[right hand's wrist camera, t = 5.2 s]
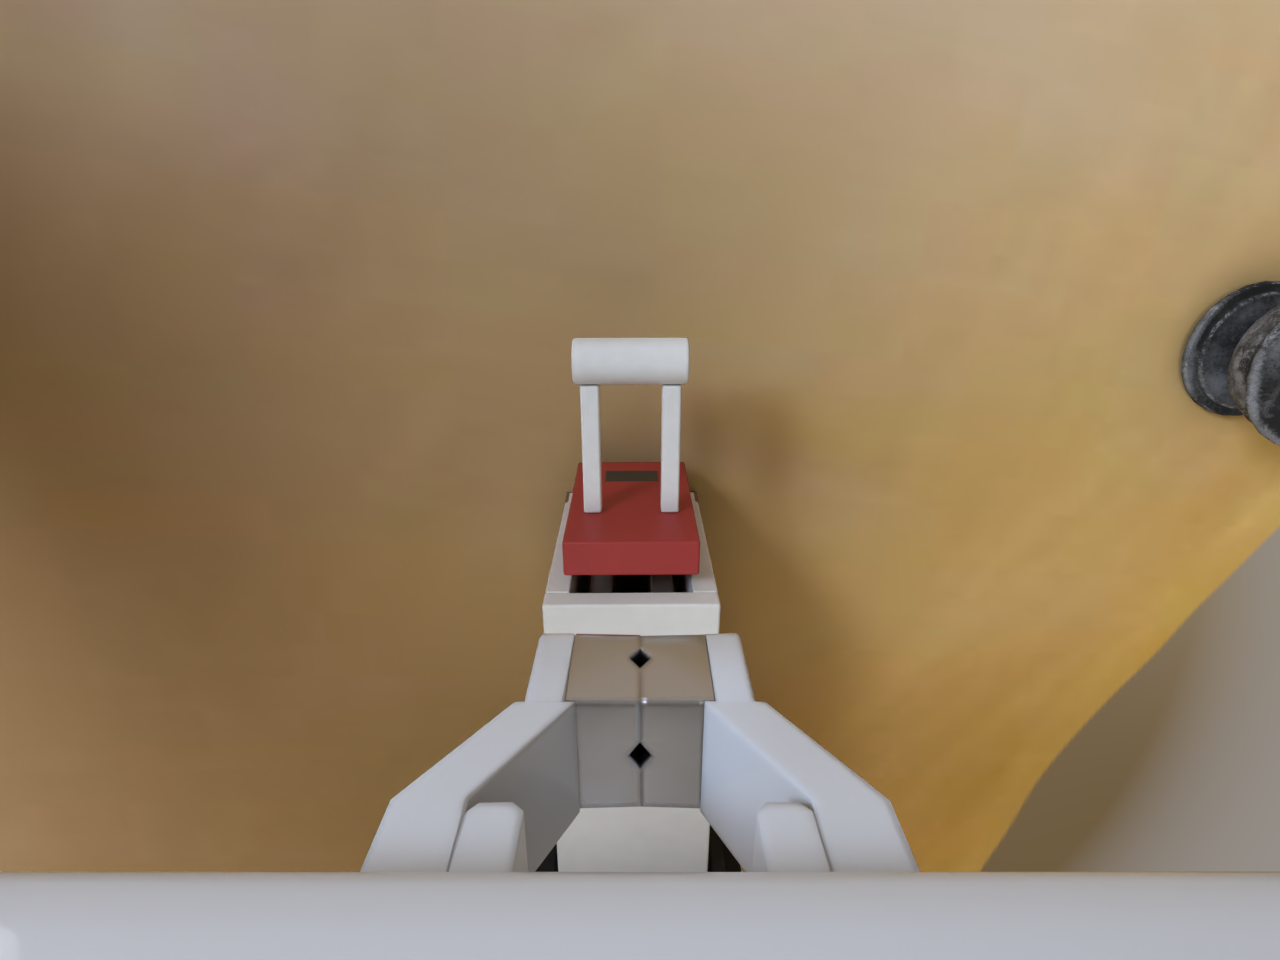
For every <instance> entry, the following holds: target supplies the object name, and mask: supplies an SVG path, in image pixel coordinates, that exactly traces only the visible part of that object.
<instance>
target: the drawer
mask: <svg viewBox="0 0 1280 960" xmlns="http://www.w3.org/2000/svg"><path fill="white" fill-rule="evenodd" d="M689 363H690V354H689V341H688V338H574V339H573V341H572V349H571V365H572V378H573V382H574V384H576V385H580V384H581V386H580V406H581V436H582V463H579V465H578V470H577V475H576V479H575V484H574V489H573V494H572V499H571V503H570V508H569V513H568V518H567V523H566V527H565V532H564V537H563V542H562V550H563V571H564V575H591V579H590V588H589V593H674V584H673V575H697V574H699V566H700V539H699V534H698V529H697V524H696V519H695V514H694V509H693V504H692V499H691V494H690V489H689V484H688V479H687V474H686V470H685V465H684V463H683V462H680V430H681V384H687V383H688V379H689ZM600 384H662V415H661V462H623V463H601V425H600Z"/></svg>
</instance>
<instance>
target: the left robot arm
mask: <svg viewBox="0 0 1280 960" xmlns="http://www.w3.org/2000/svg"><path fill="white" fill-rule="evenodd" d="M535 872H558V858H557V843H556V844H555V846H554V847H553V848H552V850H551V851H550V852H549V854H548V855H547V856H546V858H545V859H544V860H543V862H542V863H541V864H540V866H539V867H538V868H537V870H536V871H535ZM708 872H741V868H740V864H739V863H738V861H737V860H736V859H735V857H734V856H733V855H732V853H731V852H730V851H729V849H728V848H727V847H726V845H725V844H724V843H723V841H722V840H721V839H720V837H719V836H718V835H717V833H716V832H715V830H714V829H713V828H712V826H711V825H710V832H709V853H708Z"/></svg>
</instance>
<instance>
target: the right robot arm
mask: <svg viewBox="0 0 1280 960" xmlns="http://www.w3.org/2000/svg"><path fill="white" fill-rule="evenodd" d="M609 807H670V808H700V812H701V813H702V814H703V816H704V817H705V818H706V820H707V821H708V822H709V824H710V825H711V826H712V828H713V829H714V830H715V832H716V833H717V835H718V836H719V837H720V839H721V840H722V841H723V843H724V844H725V845H726V847H727V848H728V849H729V851H730V852H731V853H732V855H733V856H734V857H735V859H736V860H737V861H738V863H739V864H740V865H741V867H742V868H743V869H744V871H745V872H535V871H536V870H537V868H538V867H539V866H540V864H541V863H542V862H543V860H544V859H545V858H546V856H547V855H548V854H549V852H550V851H551V850H552V848H553V847H554V846H555V844H556V843H557V842H558V840H559V839H560V838H561V836H562V835H563V834H564V832H565V831H566V830H567V828H568V827H569V826H570V824H571V823H572V822H573V820H574V819H575V818H576V816H577V815H578V814H579V812H580V808H609ZM0 960H1280V872H920V870H919V868H918V866H917V863H916V861H915V858H914V856H913V854H912V851H911V849H910V847H909V844H908V842H907V839H906V837H905V835H904V832H903V830H902V828H901V825H900V823H899V821H898V818H897V816H896V813H895V811H894V809H893V806H892V804H891V802H890V800H889V799H887V798H886V797H885V796H884V795H882V794H881V793H880V792H879V791H877V790H876V789H875V788H874V787H872V786H871V785H870V784H869V783H867V782H866V781H865V780H863V779H862V778H861V777H860V776H858V775H857V774H856V773H855V772H853V771H852V770H851V769H850V768H848V767H847V766H846V765H845V764H843V763H842V762H841V761H839V760H838V759H837V758H836V757H834V756H833V755H832V754H831V753H829V752H828V751H827V750H826V749H824V748H823V747H822V746H821V745H819V744H818V743H817V742H815V741H814V740H813V739H812V738H810V737H809V736H808V735H807V734H805V733H804V732H803V731H802V730H800V729H799V728H798V727H797V726H795V725H794V724H793V723H791V722H790V721H789V720H788V719H786V718H785V717H784V716H783V715H781V714H780V713H779V712H778V711H776V710H775V709H774V708H773V707H771V706H770V705H769V704H767V703H766V702H755V698H754V693H753V689H752V685H751V681H750V677H749V672H748V668H747V664H746V660H745V656H744V652H743V647H742V643H741V639H740V636H739V635H738V634H737V633H722V634H705V635H659V636H640V635H620V634H576V635H575V634H573V633H552V634H542V636H541V637H540V638H539V642H538V647H537V651H536V655H535V659H534V664H533V668H532V672H531V676H530V681H529V685H528V689H527V693H526V698H525V702H514V703H513V704H511V705H510V706H509V707H507V708H506V709H505V710H504V711H502V712H501V713H500V714H499V715H497V716H496V717H495V718H494V719H492V720H491V721H490V722H488V723H487V724H486V725H485V726H483V727H482V728H481V729H480V730H478V731H477V732H476V733H474V734H473V735H472V736H471V737H469V738H468V739H467V740H466V741H464V742H463V743H462V744H461V745H459V746H458V747H457V748H455V749H454V750H453V751H452V752H450V753H449V754H448V755H447V756H445V757H444V758H443V759H441V760H440V761H439V762H438V763H436V764H435V765H434V766H433V767H431V768H430V769H429V770H428V771H426V772H425V773H424V774H422V775H421V776H420V777H419V778H417V779H416V780H415V781H414V782H412V783H411V784H410V785H408V786H407V787H406V788H405V789H403V790H402V791H401V792H400V793H398V794H397V795H396V796H395V797H393V798H392V799H391V800H390V802H389V805H388V807H387V809H386V812H385V814H384V816H383V819H382V821H381V823H380V826H379V828H378V830H377V833H376V835H375V837H374V840H373V842H372V844H371V847H370V849H369V851H368V854H367V856H366V858H365V861H364V863H363V865H362V868H361V870H360V872H0Z"/></svg>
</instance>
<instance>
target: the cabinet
mask: <svg viewBox="0 0 1280 960" xmlns="http://www.w3.org/2000/svg"><path fill="white" fill-rule="evenodd" d="M572 494H573V493H570V492H567V495H566V500H565V507H564V511H563V516H562V520H561V525H560V529H559V534H558V538H557V542H556V547H555V551H554V556H553V560H552V565H551V569H550V573H549V578H548V582H547V587H546V591H545V596H544V601H543V605H542V611H543V628H544V634H552V633H573V634H575V635H576V634H620V635H640V636H659V635H705V634H719V630H720V609H721V605H720V600H719V596H718V590H717V586H716V581H715V577H714V572H713V568H712V563H711V559H710V554H709V550H708V545H707V541H706V536H705V532H704V527H703V523H702V518H701V514H700V509H699V505H698V498H697V493H696V492H690V494H691V499H692V504H693V509H694V514H695V519H696V524H697V529H698V534H699V539H700V566H699V574H697V575H673V584H674V593H589V588H590V579H591V575H564V571H563V550H562V542H563V537H564V532H565V527H566V523H567V518H568V513H569V508H570V503H571V499H572ZM709 832H710V824H709V822H708V821H707V820H706V818H705V817H704V816H703V814H702V813H701V812H700V808H670V807H609V808H580V812H579V814H578V815H577V816H576V818H575V819H574V820H573V822H572V823H571V824H570V826H569V827H568V828H567V830H566V831H565V832H564V834H563V835H562V836H561V838H560V839H559V840H558V842H557V858H558V872H708V853H709Z"/></svg>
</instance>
